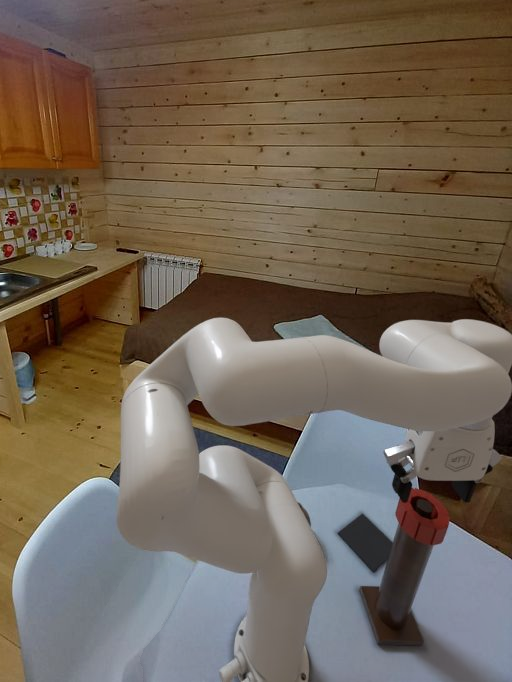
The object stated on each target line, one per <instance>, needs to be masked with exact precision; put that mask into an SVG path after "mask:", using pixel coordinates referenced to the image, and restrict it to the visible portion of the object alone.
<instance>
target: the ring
mask: <svg viewBox="0 0 512 682" xmlns="http://www.w3.org/2000/svg"><path fill="white" fill-rule="evenodd" d="M419 499H423V500H425V501H427V502H429V503H430V504H431V506H432V508H433V511H432V514H431V517H430V520H429V519H427V518H424V517H421V516H420V515H419V514H418V513H417V512H415V511H414V510H415V506H416V503H417V501H418V500H419ZM394 514H395V518H396V520H397V523H399V525H400V527H402V529H403V530H404V531H405V532H406V533H407V534H408V535H409V536H410V537H412V538H413V539H414V538H415V540H416V541H418V542H421V543H423V544H426V545H431V546H433V547H434V546H437V545H441V544H442V543H443V542H444V541H445V537H446V534H447V533H448V532H447V531H448V530H449V525H450V521H451V517H450V513H449V512H448V509H446V507H445V505H444V504H443V503H442V501H440V500H439V499H438V498H437V497H435V496H433V494H431V493H430V492H429V493H428V491H425V490H423V489H420V488H416V487H412V489H411V492H410V495H409V499H408V502H407V503H403V502H402V501H401V499H400V498H399V497H398V502H397V506H396V510H395V513H394Z"/></svg>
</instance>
